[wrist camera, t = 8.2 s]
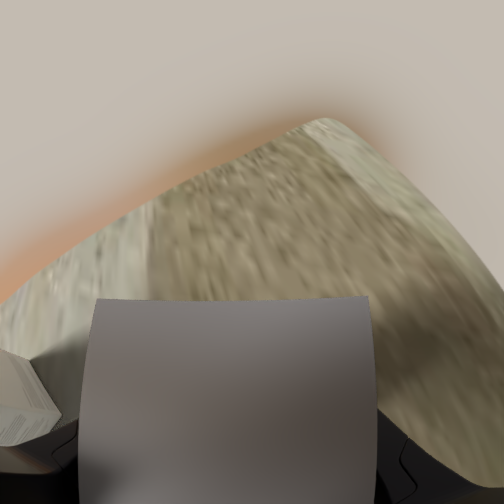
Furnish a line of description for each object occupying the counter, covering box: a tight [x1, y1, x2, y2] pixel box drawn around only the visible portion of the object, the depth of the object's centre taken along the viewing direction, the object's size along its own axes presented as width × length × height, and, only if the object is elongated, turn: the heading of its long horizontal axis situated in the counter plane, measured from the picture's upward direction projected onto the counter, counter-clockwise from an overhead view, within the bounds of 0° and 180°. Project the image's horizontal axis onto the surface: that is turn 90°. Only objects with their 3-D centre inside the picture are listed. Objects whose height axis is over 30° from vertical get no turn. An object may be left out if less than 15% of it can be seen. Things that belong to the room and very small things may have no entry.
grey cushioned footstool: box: [78, 296, 377, 504], centre depth 9 cm, size 5×5×11 cm
